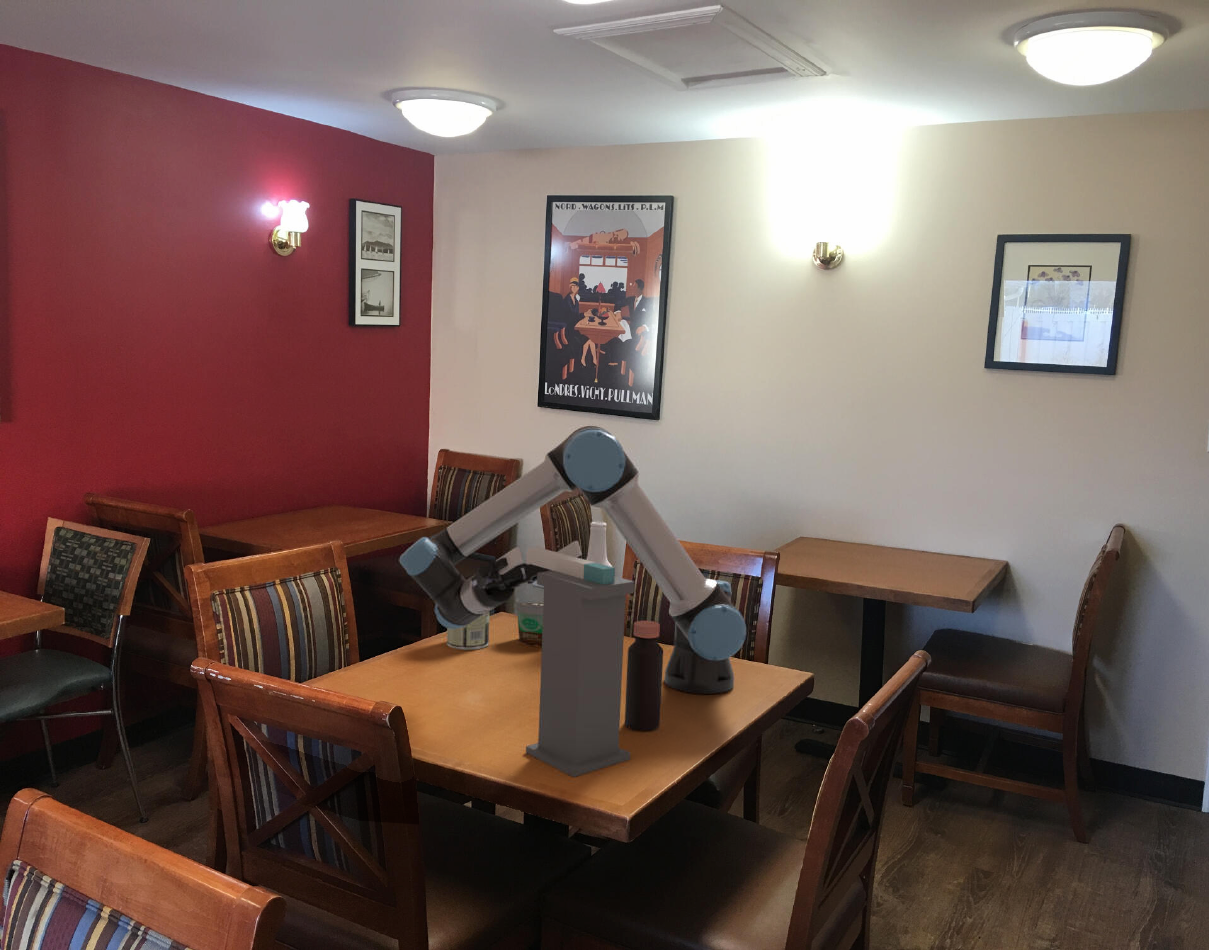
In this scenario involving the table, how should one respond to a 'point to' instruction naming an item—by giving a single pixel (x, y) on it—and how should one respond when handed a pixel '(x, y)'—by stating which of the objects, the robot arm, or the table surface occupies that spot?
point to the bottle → (644, 678)
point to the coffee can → (470, 635)
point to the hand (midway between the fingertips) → (549, 550)
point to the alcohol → (598, 544)
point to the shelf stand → (581, 673)
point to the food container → (530, 622)
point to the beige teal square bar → (571, 565)
